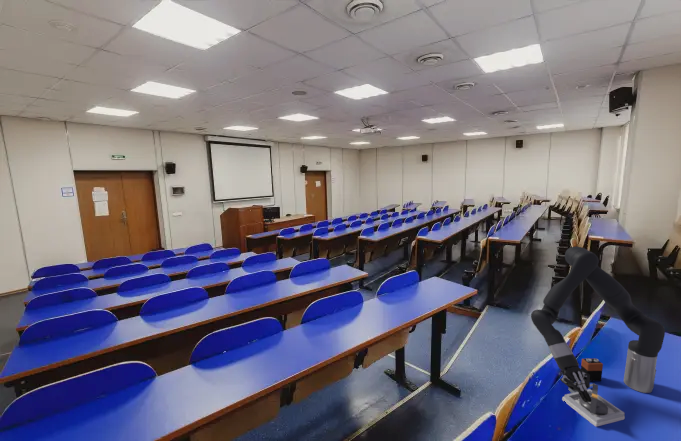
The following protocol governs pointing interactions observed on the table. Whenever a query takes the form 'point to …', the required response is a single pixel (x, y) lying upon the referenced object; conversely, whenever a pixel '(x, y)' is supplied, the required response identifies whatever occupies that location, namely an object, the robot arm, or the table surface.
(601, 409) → the dial
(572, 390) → the screwdriver
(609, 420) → the panel
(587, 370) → the battery
